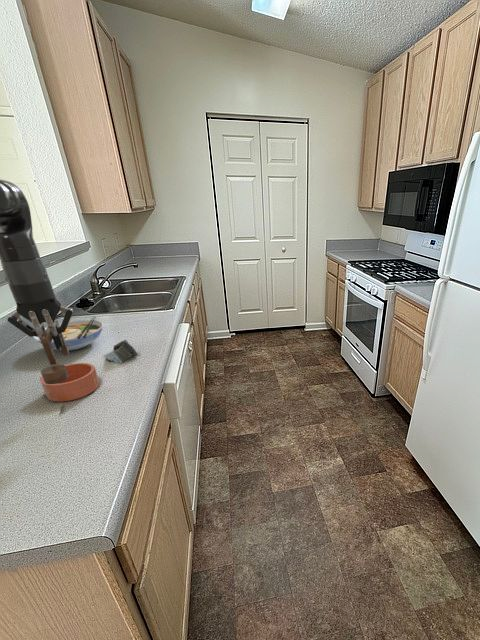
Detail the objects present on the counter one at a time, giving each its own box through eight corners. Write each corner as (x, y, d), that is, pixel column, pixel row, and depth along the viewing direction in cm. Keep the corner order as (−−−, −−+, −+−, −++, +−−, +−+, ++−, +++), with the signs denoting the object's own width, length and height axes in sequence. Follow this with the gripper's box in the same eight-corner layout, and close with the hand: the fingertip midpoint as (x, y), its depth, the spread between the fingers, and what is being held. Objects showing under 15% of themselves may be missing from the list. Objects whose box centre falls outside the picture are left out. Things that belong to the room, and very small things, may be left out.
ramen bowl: (52, 339, 138) (45, 320, 134) (113, 332, 144) (108, 314, 140) (29, 365, 116) (20, 344, 113) (101, 355, 122) (95, 335, 119)
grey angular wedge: (98, 360, 120) (101, 345, 111) (113, 347, 125) (117, 332, 116) (120, 376, 122) (125, 363, 113) (134, 363, 126) (139, 350, 117)
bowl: (43, 408, 92) (35, 389, 90) (51, 385, 103) (44, 368, 101) (99, 395, 98) (92, 378, 95) (100, 375, 109) (95, 359, 106)
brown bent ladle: (67, 381, 78) (52, 342, 73) (42, 386, 76) (26, 346, 72) (76, 351, 93) (65, 317, 88) (56, 355, 91) (43, 320, 87)
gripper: (66, 273, 80) (87, 339, 88) (-4, 279, 75) (25, 348, 83) (61, 279, 74) (84, 349, 82) (-16, 286, 69) (17, 360, 77)
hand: (54, 349), depth 82 cm, fingers closed on brown bent ladle, 1 cm apart
